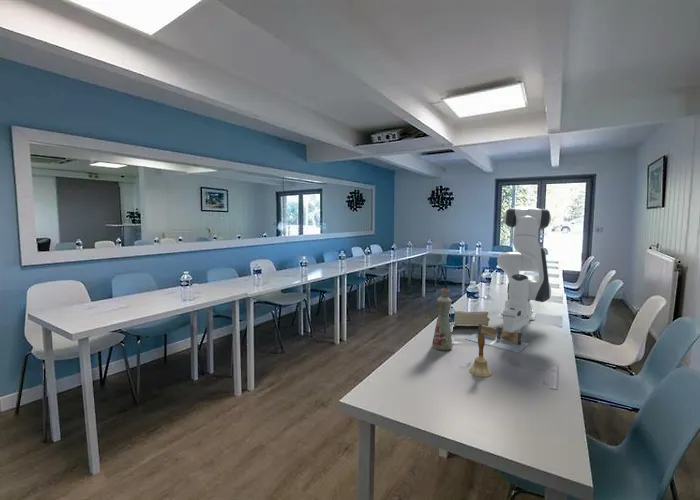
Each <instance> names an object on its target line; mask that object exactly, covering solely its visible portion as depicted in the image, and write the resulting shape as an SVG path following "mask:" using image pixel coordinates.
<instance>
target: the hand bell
mask: <svg viewBox="0 0 700 500" xmlns="http://www.w3.org/2000/svg"><path fill="white" fill-rule="evenodd" d="M485 345H486V344H485V338H484V334H483V333H482V332H480V334H479V337H478V342H477V346H478V356H477V357H474V361H473V364H472V366H471V367H470V368H469V370H468V371H469V373H470V374H471V375H473V376H476V377H478V378H479V377H480V378H488V377H491V376H492V371H491V370H490V369H489V366H488V359H487V358H485V356H484V348H485Z"/></svg>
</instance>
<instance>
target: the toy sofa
mask: <svg viewBox="0 0 700 500" xmlns="http://www.w3.org/2000/svg"><path fill="white" fill-rule="evenodd" d="M454 311H455V324H454V328H455V327H456V326H458V325H460V326H461V325H462V326H463V325H467V326H479V323H481V324H482V325H484V326H488V327H489V322H490V320H491V318H489V316H488V315H489V311H460V310H454Z"/></svg>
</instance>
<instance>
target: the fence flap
mask: <svg viewBox="0 0 700 500" xmlns="http://www.w3.org/2000/svg"><path fill="white" fill-rule="evenodd" d="M522 336H523V333H522V332H519V333H518V334H517V333H514V332H512V333H510V332H506V331H504V329H501V339H503V340H507V341H511V342H515V343H518V344H521V342H522V341H523V340H522V338H523V337H522Z"/></svg>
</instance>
